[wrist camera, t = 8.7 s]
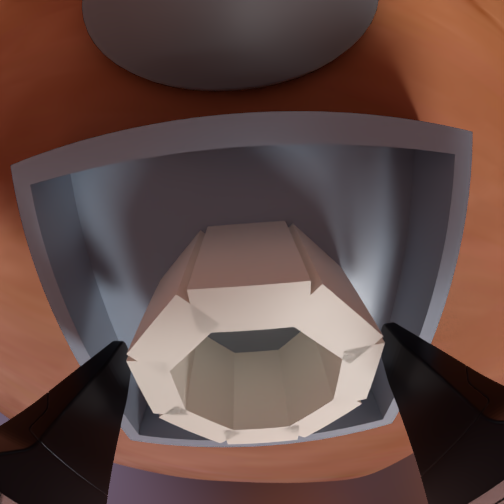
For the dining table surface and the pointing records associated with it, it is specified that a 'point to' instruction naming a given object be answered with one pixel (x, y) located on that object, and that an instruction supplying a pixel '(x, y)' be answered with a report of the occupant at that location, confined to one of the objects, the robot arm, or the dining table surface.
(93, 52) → the dining table surface
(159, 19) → the stake
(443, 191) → the tray
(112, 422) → the robot arm
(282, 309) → the ring
